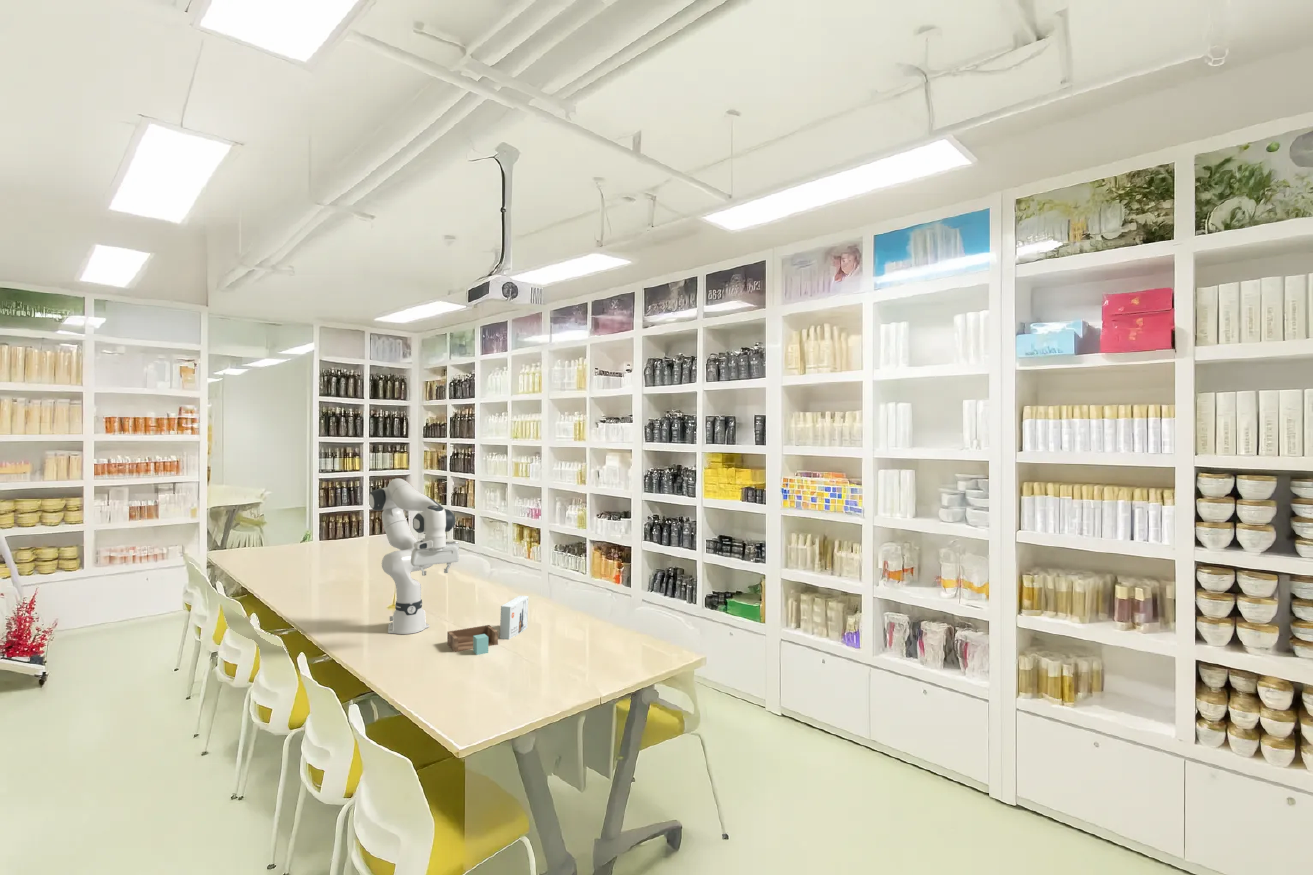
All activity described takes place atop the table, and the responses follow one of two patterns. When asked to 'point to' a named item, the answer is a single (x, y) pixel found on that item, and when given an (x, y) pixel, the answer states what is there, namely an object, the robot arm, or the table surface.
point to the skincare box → (514, 617)
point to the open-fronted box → (470, 637)
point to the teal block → (480, 644)
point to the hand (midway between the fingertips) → (435, 574)
